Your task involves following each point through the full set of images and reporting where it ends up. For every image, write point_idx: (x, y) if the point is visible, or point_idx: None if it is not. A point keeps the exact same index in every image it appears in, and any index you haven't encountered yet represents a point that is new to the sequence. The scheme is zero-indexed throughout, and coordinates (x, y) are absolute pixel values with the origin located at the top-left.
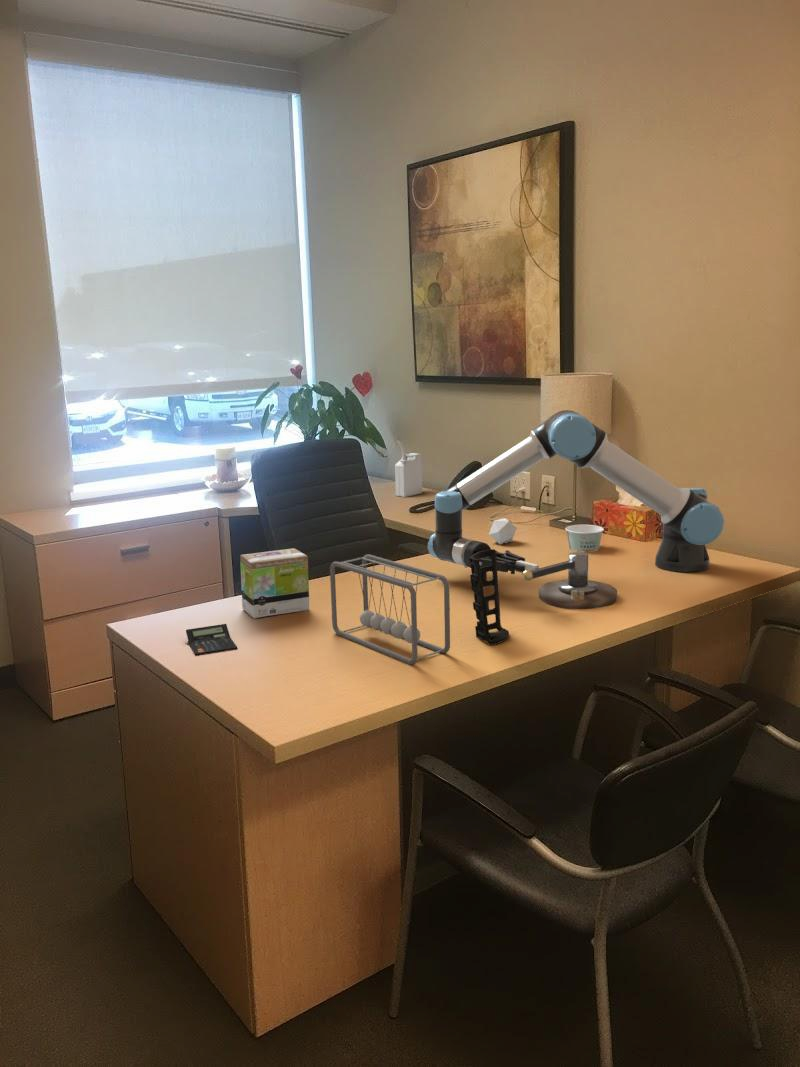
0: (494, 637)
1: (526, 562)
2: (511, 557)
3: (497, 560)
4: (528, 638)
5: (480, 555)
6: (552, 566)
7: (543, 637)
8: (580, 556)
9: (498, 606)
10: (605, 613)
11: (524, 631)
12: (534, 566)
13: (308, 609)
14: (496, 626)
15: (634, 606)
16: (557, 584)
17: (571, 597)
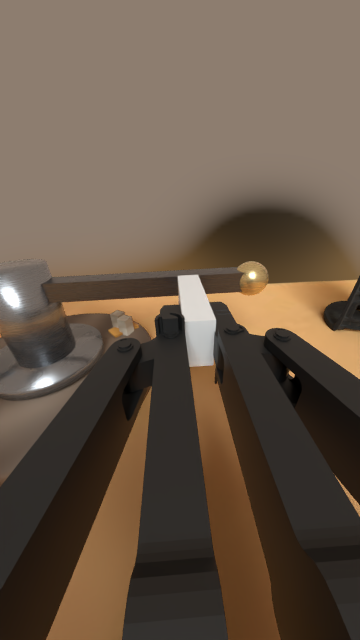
0: (355, 310)
1: (187, 296)
2: (160, 400)
3: (337, 396)
4: (294, 303)
5: None
6: (145, 273)
7: (271, 300)
8: (35, 261)
9: (357, 287)
10: (130, 313)
11: (289, 316)
12: (197, 276)
13: None
14: (346, 323)
15: (73, 312)
16: (6, 427)
17: (129, 332)
